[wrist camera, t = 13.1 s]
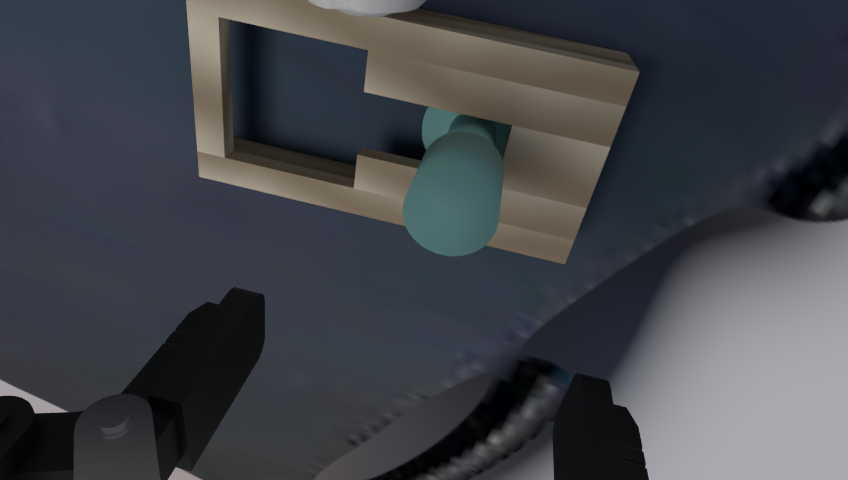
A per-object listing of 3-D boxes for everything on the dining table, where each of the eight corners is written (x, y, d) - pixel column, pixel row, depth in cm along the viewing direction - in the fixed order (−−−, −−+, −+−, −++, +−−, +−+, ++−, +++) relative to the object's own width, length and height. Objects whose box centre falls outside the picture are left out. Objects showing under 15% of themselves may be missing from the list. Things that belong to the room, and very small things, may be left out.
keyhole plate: (223, -34, 26) (184, -27, 23) (627, 53, 25) (639, 72, 22) (230, 151, 32) (199, 176, 29) (562, 230, 30) (565, 264, 27)
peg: (436, 64, 27) (391, 135, 18) (537, 86, 26) (538, 168, 18) (419, 157, 30) (374, 255, 21) (511, 178, 29) (501, 286, 21)
